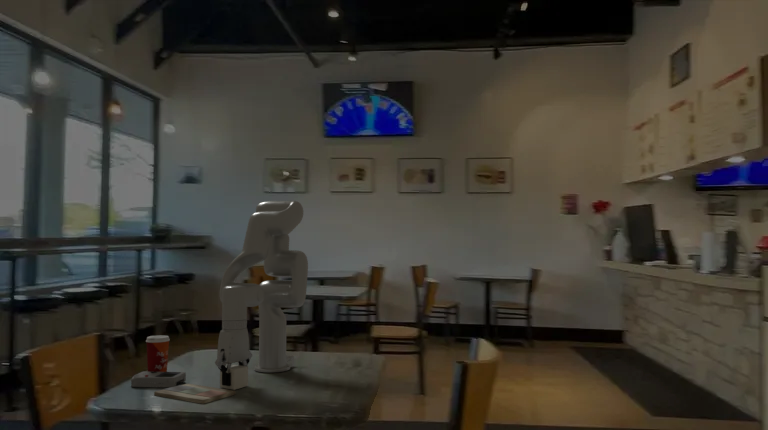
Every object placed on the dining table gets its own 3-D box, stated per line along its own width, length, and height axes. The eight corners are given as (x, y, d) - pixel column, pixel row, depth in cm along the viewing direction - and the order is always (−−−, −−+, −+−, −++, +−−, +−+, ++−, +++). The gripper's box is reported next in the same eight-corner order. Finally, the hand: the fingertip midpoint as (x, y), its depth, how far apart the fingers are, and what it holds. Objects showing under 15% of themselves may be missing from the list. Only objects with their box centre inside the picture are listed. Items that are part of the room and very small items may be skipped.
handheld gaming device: (142, 382, 208) (142, 370, 208) (186, 383, 207) (186, 371, 207) (129, 389, 199) (129, 376, 199) (174, 389, 198) (174, 377, 198)
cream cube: (233, 383, 203) (233, 364, 204) (247, 385, 200) (248, 366, 201) (220, 387, 198) (220, 367, 198) (234, 389, 195) (234, 369, 195)
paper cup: (161, 382, 206) (162, 338, 207) (140, 381, 208) (140, 338, 208) (174, 377, 214) (174, 335, 214) (153, 376, 215) (153, 334, 216)
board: (188, 386, 200) (188, 383, 200) (235, 394, 190) (235, 390, 190) (154, 395, 189) (154, 391, 189) (202, 403, 179) (203, 399, 179)
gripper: (244, 321, 209) (244, 376, 209) (205, 327, 194) (204, 387, 194) (262, 322, 206) (261, 379, 205) (223, 329, 191) (222, 390, 190)
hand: (234, 382), depth 199 cm, fingers closed on cream cube, 6 cm apart
